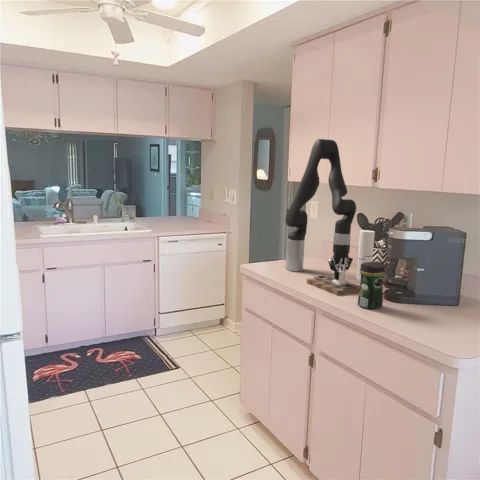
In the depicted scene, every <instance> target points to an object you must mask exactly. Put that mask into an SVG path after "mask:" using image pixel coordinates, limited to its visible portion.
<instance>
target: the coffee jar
mask: <svg viewBox="0 0 480 480" xmlns="http://www.w3.org/2000/svg"><path fill="white" fill-rule="evenodd" d="M360 273H361V280H360V285H359V286H360V291H359V292H358V298H357V305H358V306H359V307H360V308H363V309H368V310H373V309H375V310H376V309H379V308H382V306H383V304H384V301H383V300H384V299H383V298H384V297H383V292H384V291H383V290H384V289H383V288H384V286H383V285H384V277H385V273H386V265H385V264H384V263H383V262H380V261H378V260H377V261H372V262H366V263H362V264H361V268H360Z"/></svg>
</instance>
